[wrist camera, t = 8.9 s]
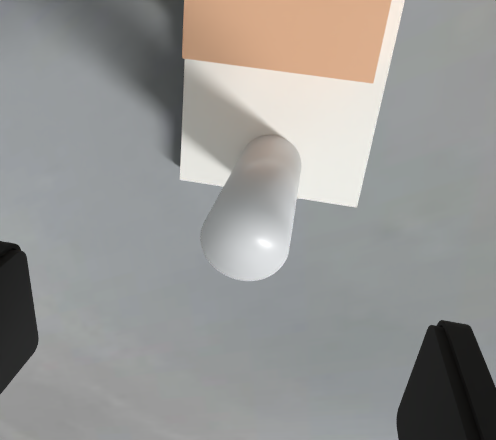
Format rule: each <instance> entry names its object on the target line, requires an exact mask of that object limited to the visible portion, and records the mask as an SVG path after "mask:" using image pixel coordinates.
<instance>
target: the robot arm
mask: <svg viewBox="0 0 496 440" xmlns="http://www.w3.org/2000/svg"><path fill="white" fill-rule="evenodd" d="M37 345H38V331H37V324H36V317H35V310H34V304H33V297H32V290H31V283H30V276H29V270H28V263H27V257H26V254H25V253H24V252H23V251H21V249H20V247H19V246H18V245H17V244H13V243H8V242H2V241H0V394H1V393H2V392H3V390H4V389H5V388H6V387H7V385H8V384H9V383H10V382H11V380H12V379H13V378H14V377H15V376H16V374H17V373H18V372H19V371H20V369H21V368H22V367H23V366H24V364H25V363H26V362H27V361H28V359H29V358H30V357H31V356H32V355H33V353H34V352H35V350H36V348H37ZM397 431H398V438H399V440H496V387H495V385H494V382H493V380H492V378H491V375H490V373H489V370H488V368H487V365H486V363H485V360H484V358H483V355H482V353H481V351H480V348H479V346H478V343H477V341H476V338H475V336H474V333H473V331H472V329H471V327H470V326H469V325H466V324H461V323H455V322H450V321H444V320H441V321H439V323H438V324H437V326H434V325H430V326H429V327H428V329H427V332H426V335H425V337H424V340H423V343H422V346H421V348H420V351H419V354H418V356H417V359H416V362H415V365H414V367H413V370H412V373H411V376H410V378H409V381H408V384H407V387H406V389H405V392H404V395H403V397H402V400H401V403H400V406H399V408H398V412H397Z"/></svg>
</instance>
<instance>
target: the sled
mask: <svg viewBox="0 0 496 440" xmlns="http://www.w3.org/2000/svg"><path fill="white" fill-rule="evenodd" d="M404 2H405V0H184V18H183V45H182V58H183V59H185V65H184V90H183V115H182V140H181V164H180V180H185V181H191V182H198V183H204V184H211V185H217V186H223V189H222V191H221V192H220V194H219V196H218V198H217V200H216V201H215V203H214V205H213V207H212V209H211V211H210V212H209V214H208V216H207V218H206V220H205V222H204V224H203V226H202V230H201V246H202V250H203V252H204V254H205V256H206V258H207V260H208V261H209V262H210V264H211V265H212V266H213V267H214V268H215V269H217V270H218V271H219V272H221V273H222V274H224V275H226V276H228V277H230V278H233V279H237V280H242V281H256V280H261V279H264V278H267V277H269V276H271V275H272V274H274V273H275V272H277V271H278V270H279V269H280V268H281V267H282V265H283V264H284V262H285V261H286V259H287V256H288V253H289V247H290V241H291V234H292V227H293V221H294V214H295V207H296V201H297V198H300V199H306V200H313V201H319V202H325V203H332V204H338V205H344V206H351V207H357V205H358V200H359V196H360V192H361V187H362V183H363V179H364V174H365V170H366V166H367V161H368V157H369V153H370V148H371V144H372V140H373V136H374V131H375V127H376V123H377V118H378V114H379V110H380V105H381V101H382V97H383V92H384V88H385V84H386V79H387V75H388V71H389V66H390V62H391V58H392V54H393V49H394V45H395V41H396V36H397V32H398V28H399V23H400V19H401V15H402V10H403V6H404Z"/></svg>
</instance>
